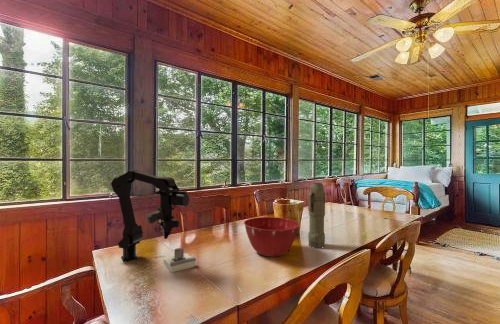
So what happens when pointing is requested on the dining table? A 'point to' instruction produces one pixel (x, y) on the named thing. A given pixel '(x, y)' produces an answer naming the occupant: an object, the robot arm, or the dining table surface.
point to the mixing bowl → (271, 234)
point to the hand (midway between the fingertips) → (165, 238)
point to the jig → (179, 263)
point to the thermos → (316, 215)
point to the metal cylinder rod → (179, 254)
